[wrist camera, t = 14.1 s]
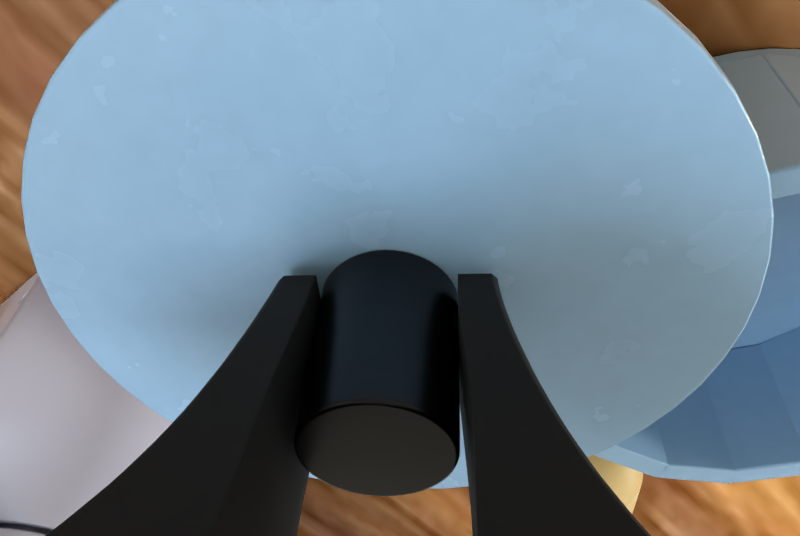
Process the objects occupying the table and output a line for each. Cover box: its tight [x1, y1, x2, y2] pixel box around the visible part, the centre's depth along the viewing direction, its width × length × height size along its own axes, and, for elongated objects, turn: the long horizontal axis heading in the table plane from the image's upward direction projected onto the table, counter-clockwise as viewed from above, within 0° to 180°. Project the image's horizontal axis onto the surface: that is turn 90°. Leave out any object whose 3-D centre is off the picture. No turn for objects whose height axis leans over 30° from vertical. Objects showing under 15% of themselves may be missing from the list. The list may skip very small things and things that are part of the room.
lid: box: [21, 0, 774, 496], centre depth 13 cm, size 14×14×4 cm
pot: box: [594, 48, 800, 484], centre depth 21 cm, size 13×13×6 cm
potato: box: [587, 455, 643, 514], centre depth 30 cm, size 7×4×4 cm, turn 3°
